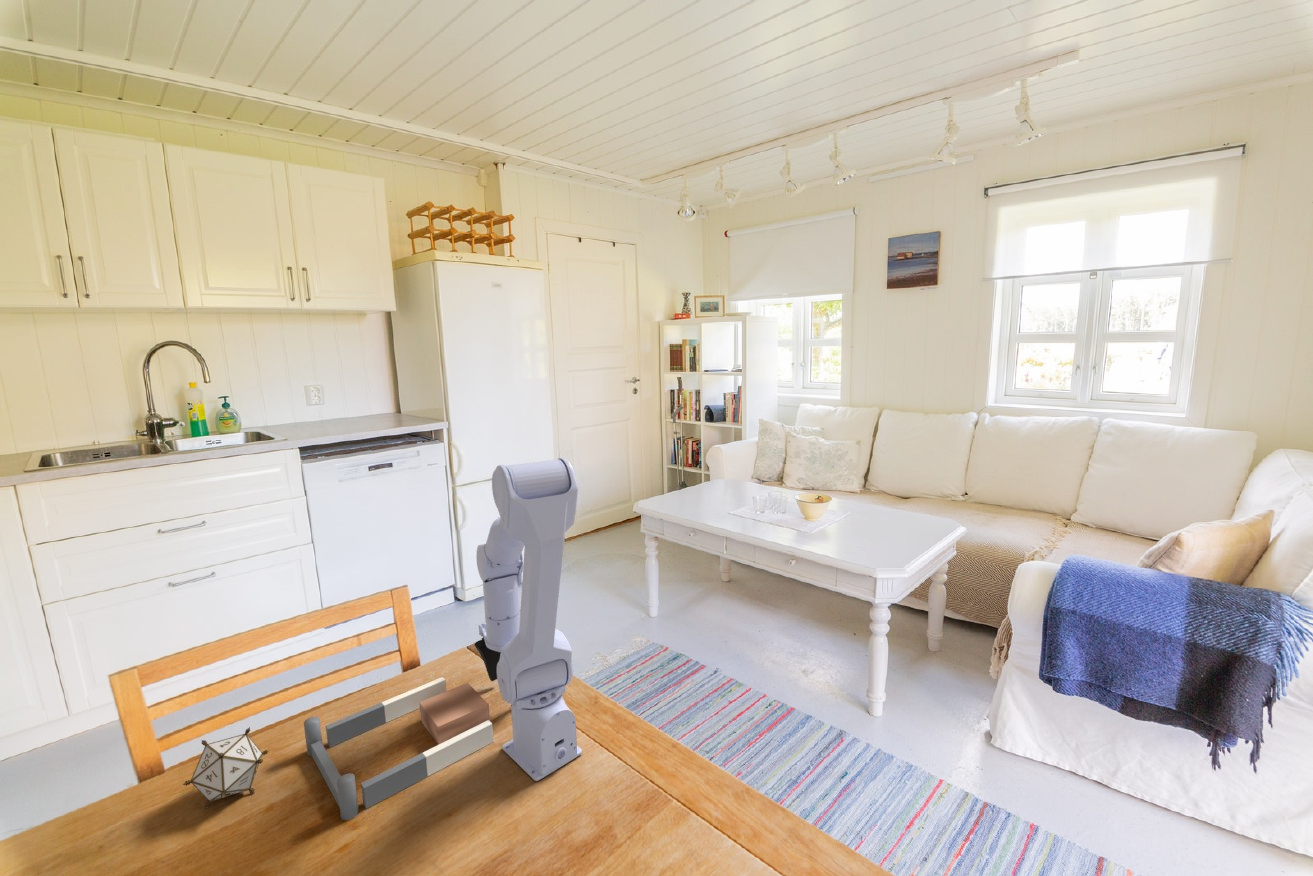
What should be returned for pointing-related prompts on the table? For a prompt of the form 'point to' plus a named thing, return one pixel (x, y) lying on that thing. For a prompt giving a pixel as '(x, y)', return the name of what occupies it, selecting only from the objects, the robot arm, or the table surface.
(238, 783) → the game die
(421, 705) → the sliding block
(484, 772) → the table surface
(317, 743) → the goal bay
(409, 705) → the lane walls
